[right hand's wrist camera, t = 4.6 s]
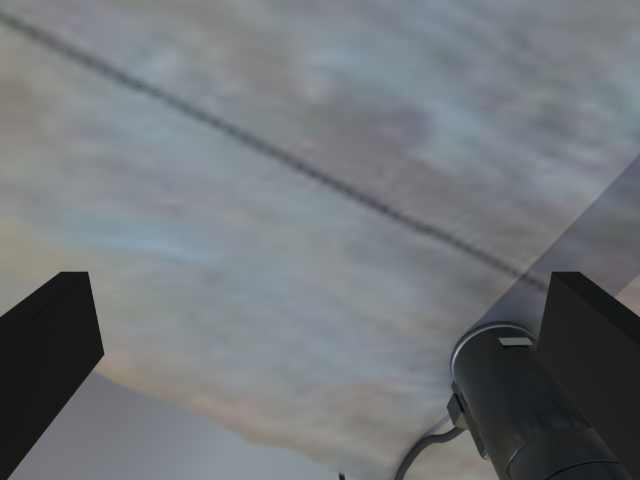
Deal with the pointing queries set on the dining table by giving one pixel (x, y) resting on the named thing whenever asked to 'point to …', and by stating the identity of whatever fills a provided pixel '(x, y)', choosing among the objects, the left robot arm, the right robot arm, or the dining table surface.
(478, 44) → the dining table surface
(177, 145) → the dining table surface
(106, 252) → the dining table surface
